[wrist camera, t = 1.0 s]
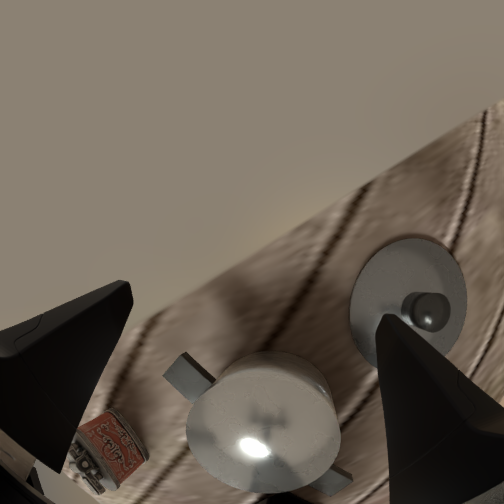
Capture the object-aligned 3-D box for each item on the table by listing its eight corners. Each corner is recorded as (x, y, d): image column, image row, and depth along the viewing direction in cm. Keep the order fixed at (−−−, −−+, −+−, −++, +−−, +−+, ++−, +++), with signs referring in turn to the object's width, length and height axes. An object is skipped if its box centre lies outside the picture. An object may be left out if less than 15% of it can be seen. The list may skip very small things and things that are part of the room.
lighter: (102, 411, 25) (47, 439, 15) (117, 405, 25) (60, 436, 15) (137, 462, 23) (92, 501, 14) (154, 459, 23) (110, 502, 13)
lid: (479, 293, 20) (507, 293, 15) (409, 394, 20) (428, 414, 15) (400, 213, 22) (421, 197, 17) (319, 320, 22) (324, 330, 18)
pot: (376, 413, 20) (396, 450, 13) (296, 477, 20) (292, 521, 13) (239, 303, 23) (215, 311, 17) (170, 382, 24) (132, 408, 17)
